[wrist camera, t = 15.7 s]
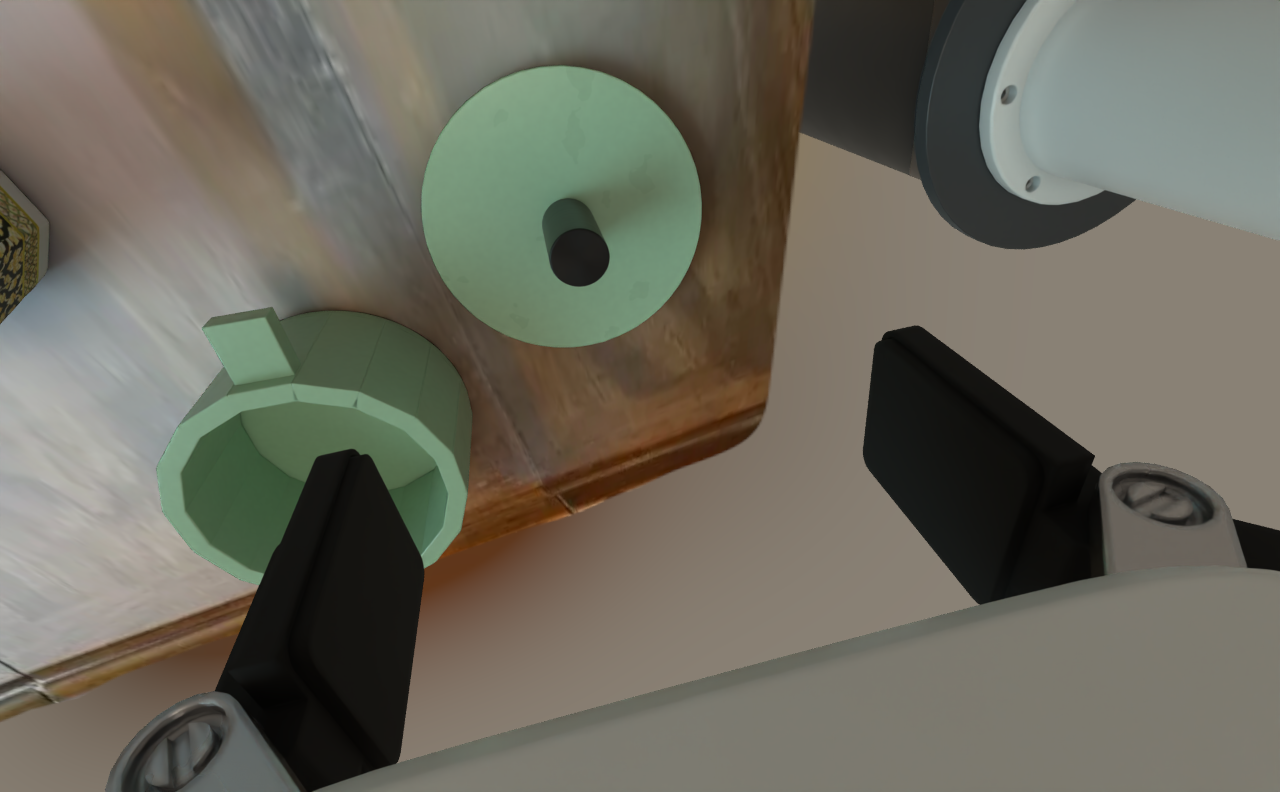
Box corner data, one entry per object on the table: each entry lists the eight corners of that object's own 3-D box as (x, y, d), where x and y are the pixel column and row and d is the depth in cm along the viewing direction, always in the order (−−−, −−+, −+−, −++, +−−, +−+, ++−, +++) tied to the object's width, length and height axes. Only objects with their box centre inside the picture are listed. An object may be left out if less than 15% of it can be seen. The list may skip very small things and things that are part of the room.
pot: (418, 240, 29) (397, 300, 23) (503, 504, 39) (504, 594, 33) (144, 285, 28) (43, 362, 22) (305, 546, 38) (268, 649, 32)
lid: (688, 45, 27) (732, 52, 22) (701, 315, 35) (736, 365, 30) (381, 86, 26) (353, 103, 21) (466, 359, 33) (461, 420, 28)
